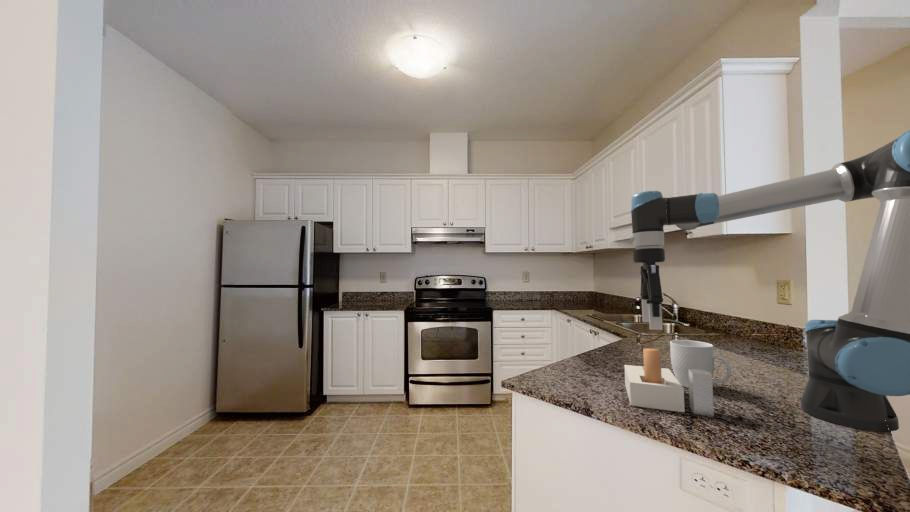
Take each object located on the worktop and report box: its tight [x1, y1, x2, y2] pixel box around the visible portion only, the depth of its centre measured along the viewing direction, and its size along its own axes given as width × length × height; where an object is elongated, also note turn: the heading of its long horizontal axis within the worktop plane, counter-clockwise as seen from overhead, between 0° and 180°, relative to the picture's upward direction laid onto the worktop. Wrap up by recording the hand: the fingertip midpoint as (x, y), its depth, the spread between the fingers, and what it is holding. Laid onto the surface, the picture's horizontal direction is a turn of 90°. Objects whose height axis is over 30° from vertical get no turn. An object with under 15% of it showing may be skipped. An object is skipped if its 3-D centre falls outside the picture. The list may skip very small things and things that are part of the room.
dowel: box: [642, 347, 662, 384], centre depth 90 cm, size 4×4×12 cm
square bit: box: [688, 369, 715, 417], centre depth 84 cm, size 4×4×10 cm
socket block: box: [624, 364, 685, 413], centre depth 94 cm, size 12×18×6 cm, turn 157°
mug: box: [669, 339, 732, 389], centre depth 101 cm, size 15×11×13 cm
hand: (651, 325), depth 91 cm, fingers open, 13 cm apart
